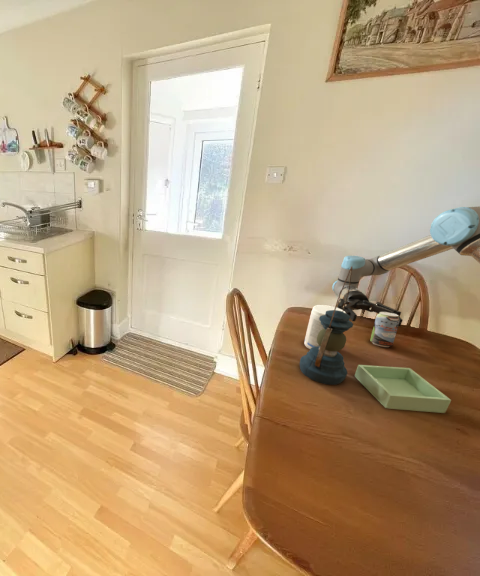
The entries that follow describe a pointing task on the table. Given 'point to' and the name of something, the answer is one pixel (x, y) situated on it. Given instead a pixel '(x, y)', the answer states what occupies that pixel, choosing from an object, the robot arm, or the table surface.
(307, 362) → the lantern
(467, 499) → the table surface
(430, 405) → the green square tray
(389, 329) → the beverage can
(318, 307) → the supplement tub
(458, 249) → the robot arm
